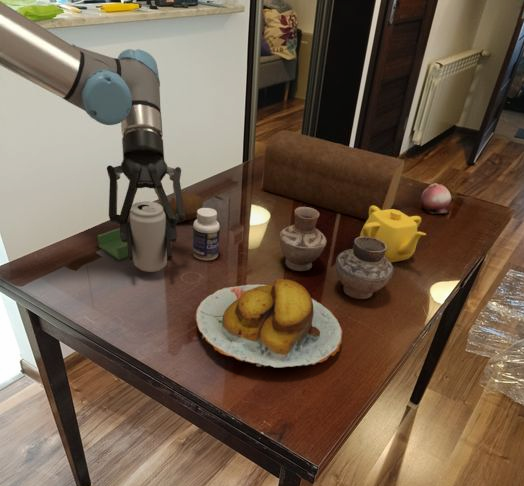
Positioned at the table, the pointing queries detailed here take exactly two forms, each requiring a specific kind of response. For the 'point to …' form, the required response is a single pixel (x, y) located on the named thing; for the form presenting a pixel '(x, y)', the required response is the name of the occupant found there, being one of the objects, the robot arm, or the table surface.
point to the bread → (330, 174)
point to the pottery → (347, 262)
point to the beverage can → (148, 236)
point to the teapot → (393, 232)
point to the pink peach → (435, 199)
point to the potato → (188, 205)
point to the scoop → (113, 244)
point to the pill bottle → (206, 234)
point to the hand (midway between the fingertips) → (150, 258)
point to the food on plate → (269, 324)
